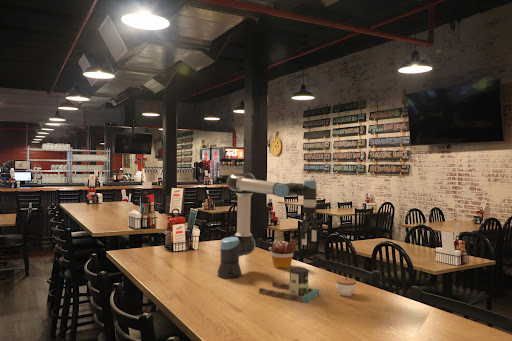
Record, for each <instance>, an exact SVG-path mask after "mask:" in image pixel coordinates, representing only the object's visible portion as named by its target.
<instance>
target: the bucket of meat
mask: <svg viewBox="0 0 512 341" xmlns="http://www.w3.org/2000/svg"><path fill="white" fill-rule="evenodd" d="M296 246H297V243H296V242H295V241H294V240H293V239H291V240H290V242H288V241H284V240H282V242H281V241H279V240H278V239H275V240H274V241H273V243H272V246H270V247H269V248H268V250H269V251H270V255H271V259H272V260H271V261H272V265H273V267H274V268H275V269H290V267H292V266H291V265H292V261H293V257H294V252H296V250H297V247H296Z"/></svg>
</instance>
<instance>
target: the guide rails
mask: <svg viewBox="0 0 512 341" xmlns="http://www.w3.org/2000/svg"><path fill="white" fill-rule="evenodd" d="M272 287H273V288H279V289H284V290H288V291H289V283H284V282H279V281H272ZM314 289H315V288H310V287H308V293H309V292H311V291H312V290H314ZM319 291H320V290H319ZM319 291H318V293H320V292H319ZM258 293H259V294H263V295H267V296H271V297H276V298H282V299H285V300H289V299H290V301H294V302H300V303H303V302H302V300H303V296H298V295H293V294H289V293H288V292H283V291H279V290H274V289H268V288H264V287H263V288H262V287H260V288H259V289H258ZM318 296H319V294H318ZM304 300H305V299H304Z"/></svg>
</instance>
